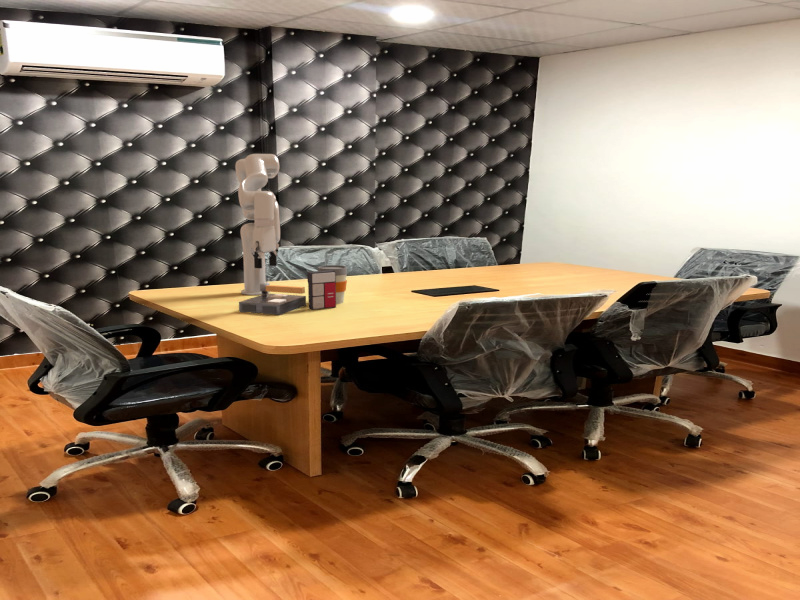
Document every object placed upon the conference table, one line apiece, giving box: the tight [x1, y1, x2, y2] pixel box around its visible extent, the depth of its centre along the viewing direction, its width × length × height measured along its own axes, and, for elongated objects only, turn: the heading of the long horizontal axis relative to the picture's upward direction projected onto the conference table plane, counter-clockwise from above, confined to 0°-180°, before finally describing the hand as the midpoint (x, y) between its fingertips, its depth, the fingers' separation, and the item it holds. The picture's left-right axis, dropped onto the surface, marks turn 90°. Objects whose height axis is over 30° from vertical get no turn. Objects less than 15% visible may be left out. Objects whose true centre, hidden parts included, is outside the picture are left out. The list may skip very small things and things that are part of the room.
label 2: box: [268, 299, 286, 303], centre depth 290 cm, size 6×5×1 cm
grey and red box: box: [306, 270, 337, 311], centre depth 296 cm, size 11×4×15 cm, turn 122°
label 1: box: [269, 293, 288, 298], centre depth 301 cm, size 6×5×1 cm
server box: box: [238, 291, 307, 316], centre depth 295 cm, size 22×18×6 cm
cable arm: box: [260, 283, 306, 295], centre depth 301 cm, size 20×4×3 cm, turn 70°
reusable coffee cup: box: [317, 264, 348, 305], centre depth 310 cm, size 13×13×15 cm
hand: (265, 267), depth 290 cm, fingers open, 9 cm apart
